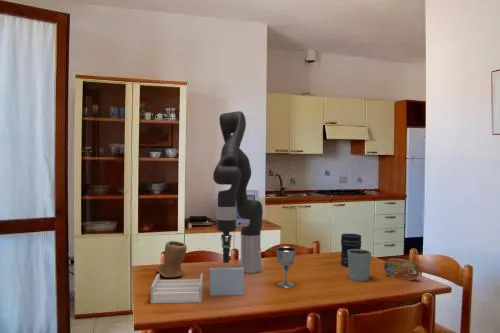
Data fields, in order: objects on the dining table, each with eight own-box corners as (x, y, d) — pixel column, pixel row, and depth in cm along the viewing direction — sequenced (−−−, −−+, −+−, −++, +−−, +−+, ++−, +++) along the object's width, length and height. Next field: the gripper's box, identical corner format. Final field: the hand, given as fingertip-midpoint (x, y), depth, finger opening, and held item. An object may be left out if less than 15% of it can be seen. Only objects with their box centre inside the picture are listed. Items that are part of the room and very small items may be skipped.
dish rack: (202, 287, 159) (202, 273, 159) (201, 302, 142) (201, 285, 142) (157, 288, 157) (157, 273, 157) (150, 303, 141) (150, 286, 141)
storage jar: (363, 264, 197) (364, 234, 197) (357, 268, 189) (358, 237, 189) (344, 261, 202) (344, 232, 202) (337, 265, 194) (338, 235, 194)
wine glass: (297, 283, 166) (297, 247, 166) (293, 288, 158) (293, 251, 158) (279, 281, 168) (279, 246, 168) (274, 286, 161) (274, 250, 161)
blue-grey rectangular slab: (243, 292, 153) (243, 267, 153) (243, 294, 151) (243, 269, 151) (209, 293, 152) (210, 267, 152) (209, 295, 150) (209, 269, 149)
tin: (383, 275, 178) (383, 257, 178) (386, 274, 180) (387, 255, 180) (417, 282, 167) (417, 263, 167) (420, 281, 170) (420, 261, 170)
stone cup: (189, 277, 173) (189, 243, 173) (162, 280, 168) (162, 245, 168) (180, 269, 187) (180, 237, 186) (155, 271, 182) (155, 239, 181)
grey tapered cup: (343, 278, 173) (343, 251, 173) (354, 273, 180) (354, 247, 180) (364, 283, 166) (364, 255, 166) (375, 278, 173) (375, 251, 173)
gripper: (237, 220, 144) (236, 264, 144) (235, 215, 159) (234, 255, 159) (216, 220, 144) (215, 264, 144) (216, 215, 158) (216, 255, 158)
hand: (225, 260), depth 151 cm, fingers open, 8 cm apart
